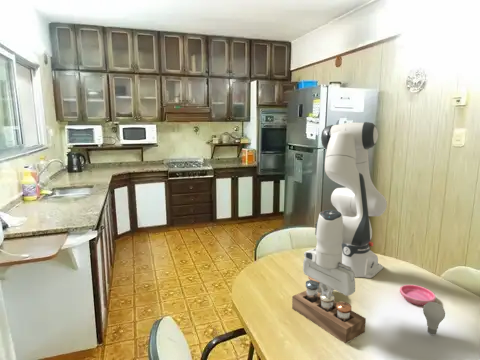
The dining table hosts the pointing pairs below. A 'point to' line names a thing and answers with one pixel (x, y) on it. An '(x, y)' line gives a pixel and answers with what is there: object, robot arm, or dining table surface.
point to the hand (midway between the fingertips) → (326, 295)
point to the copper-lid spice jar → (343, 311)
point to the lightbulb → (433, 316)
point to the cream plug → (327, 302)
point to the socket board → (329, 318)
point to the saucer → (417, 294)
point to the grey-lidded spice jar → (312, 290)
